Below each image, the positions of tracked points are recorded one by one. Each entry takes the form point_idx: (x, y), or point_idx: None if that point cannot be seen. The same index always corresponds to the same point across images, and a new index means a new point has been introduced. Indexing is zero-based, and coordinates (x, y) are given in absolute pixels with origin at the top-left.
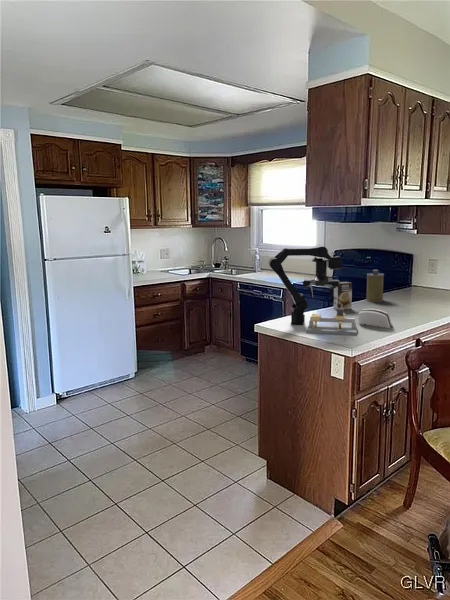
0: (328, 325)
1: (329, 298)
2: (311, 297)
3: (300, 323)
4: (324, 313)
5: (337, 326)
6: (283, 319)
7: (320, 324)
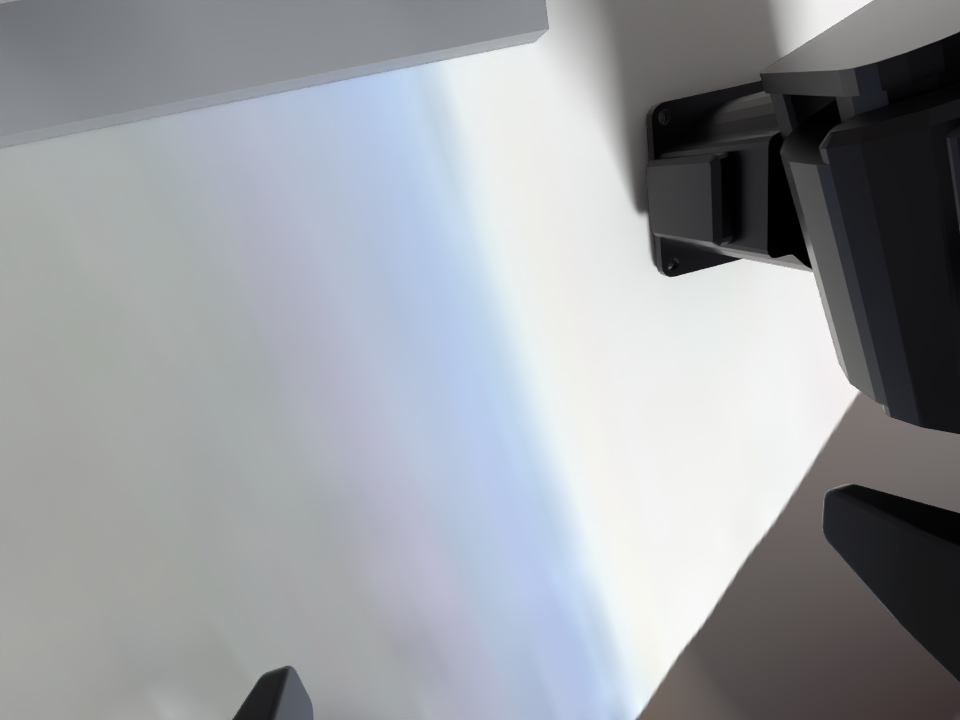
0: (207, 33)
1: (278, 682)
2: (898, 496)
3: (685, 126)
4: (539, 692)
5: (11, 12)
6: None
7: (366, 59)
